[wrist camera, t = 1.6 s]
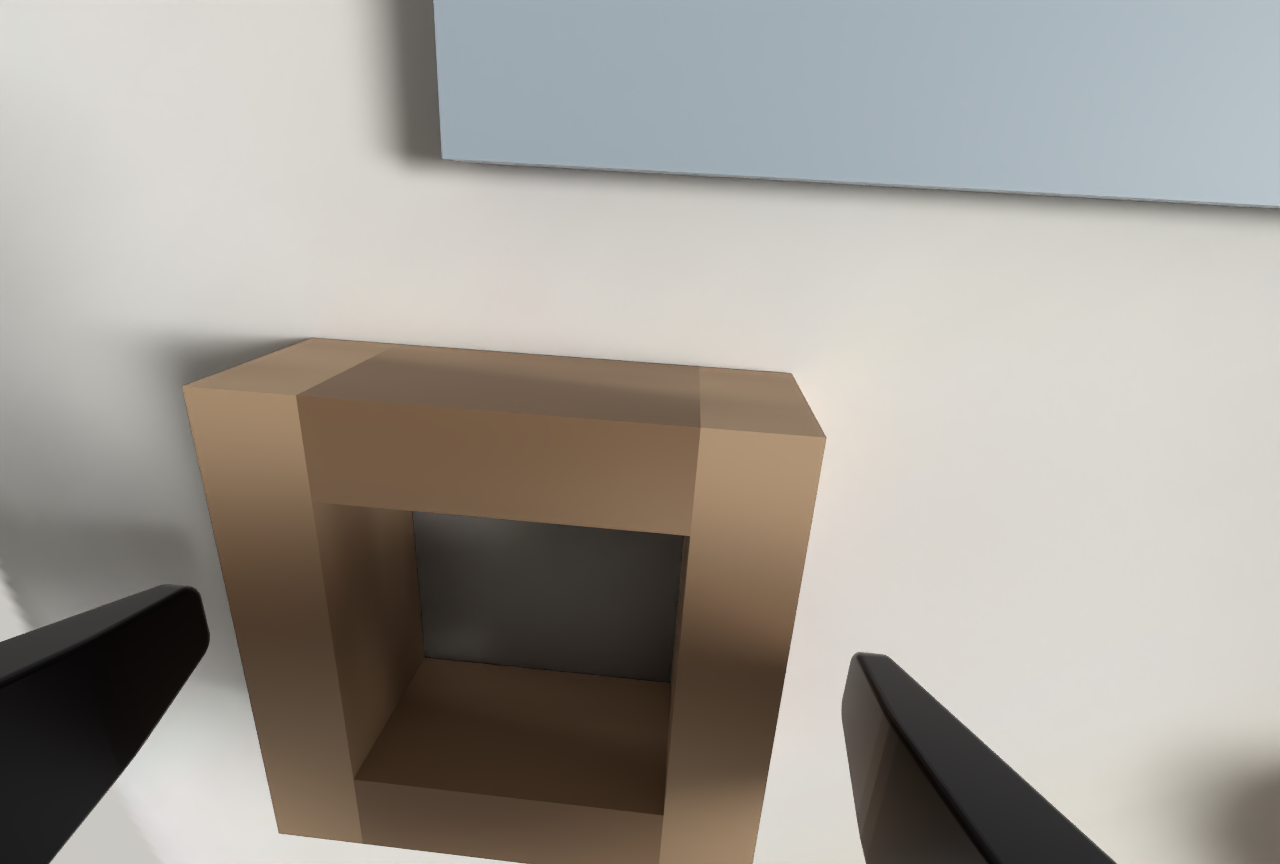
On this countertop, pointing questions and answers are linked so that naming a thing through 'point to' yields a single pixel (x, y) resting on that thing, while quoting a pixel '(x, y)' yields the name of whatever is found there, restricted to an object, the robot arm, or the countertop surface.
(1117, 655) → the countertop surface
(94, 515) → the countertop surface
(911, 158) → the base plate with peg
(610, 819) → the square wooden frame
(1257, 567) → the countertop surface
